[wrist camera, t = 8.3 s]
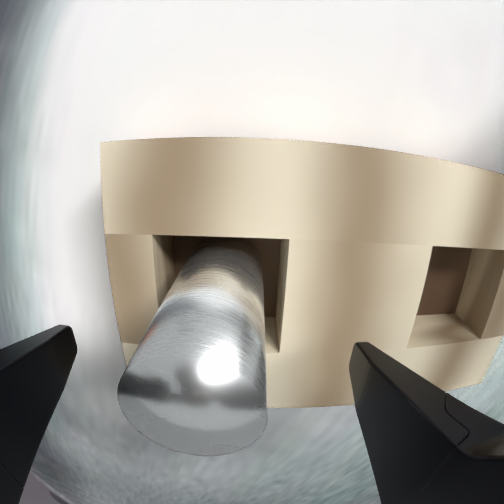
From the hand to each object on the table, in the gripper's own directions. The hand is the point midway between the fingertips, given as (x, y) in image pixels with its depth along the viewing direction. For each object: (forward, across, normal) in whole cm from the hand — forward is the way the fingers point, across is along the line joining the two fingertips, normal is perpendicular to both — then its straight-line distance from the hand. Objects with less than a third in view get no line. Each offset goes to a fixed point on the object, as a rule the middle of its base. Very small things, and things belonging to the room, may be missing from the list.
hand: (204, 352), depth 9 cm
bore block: (+7, -6, 0) cm, 9 cm away
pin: (+6, 0, 0) cm, 6 cm away
